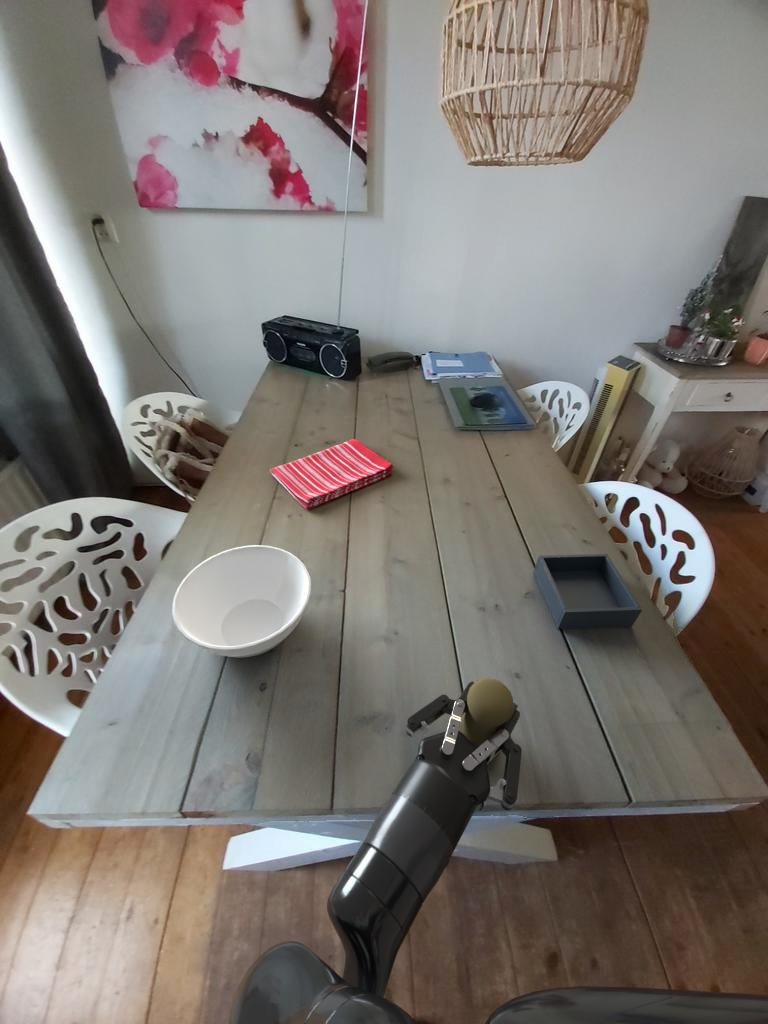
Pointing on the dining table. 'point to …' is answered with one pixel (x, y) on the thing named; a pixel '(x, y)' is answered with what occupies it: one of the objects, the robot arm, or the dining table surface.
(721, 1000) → the robot arm
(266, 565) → the bowl
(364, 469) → the dish towel
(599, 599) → the square tray
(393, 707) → the dining table surface
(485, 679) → the cork
